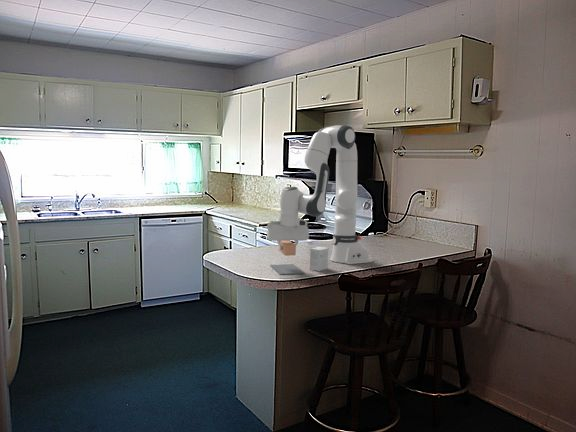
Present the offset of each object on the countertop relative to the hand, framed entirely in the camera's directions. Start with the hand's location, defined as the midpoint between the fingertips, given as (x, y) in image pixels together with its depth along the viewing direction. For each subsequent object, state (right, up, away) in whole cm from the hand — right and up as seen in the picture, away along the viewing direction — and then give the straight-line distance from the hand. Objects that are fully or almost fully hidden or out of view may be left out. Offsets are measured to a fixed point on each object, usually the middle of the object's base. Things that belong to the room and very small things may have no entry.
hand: (287, 249), depth 234 cm
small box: (+15, -10, +5) cm, 19 cm away
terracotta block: (-2, +2, +6) cm, 7 cm away
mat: (0, -10, +2) cm, 10 cm away
